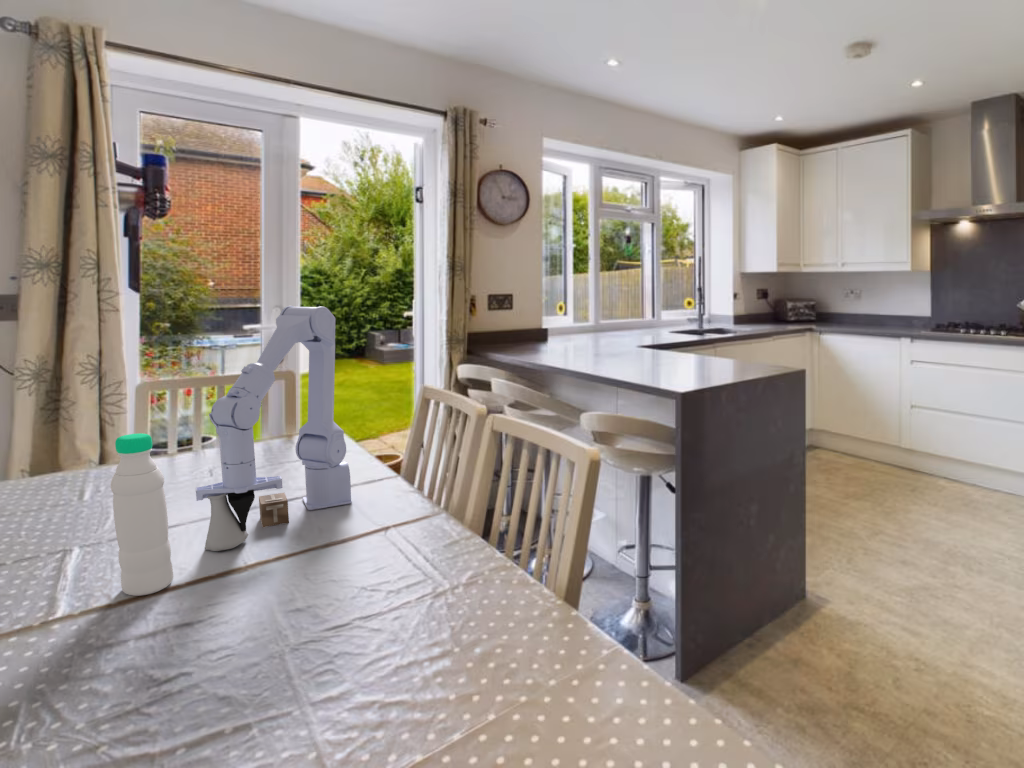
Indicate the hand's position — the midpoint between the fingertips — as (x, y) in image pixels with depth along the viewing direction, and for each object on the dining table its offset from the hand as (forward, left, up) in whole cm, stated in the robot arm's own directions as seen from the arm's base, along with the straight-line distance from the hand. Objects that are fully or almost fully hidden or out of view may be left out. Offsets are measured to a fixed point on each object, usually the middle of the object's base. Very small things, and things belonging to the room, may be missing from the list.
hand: (243, 529), depth 108 cm
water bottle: (+15, +11, -3) cm, 19 cm away
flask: (+3, 0, -2) cm, 4 cm away
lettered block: (-6, -8, -3) cm, 11 cm away
